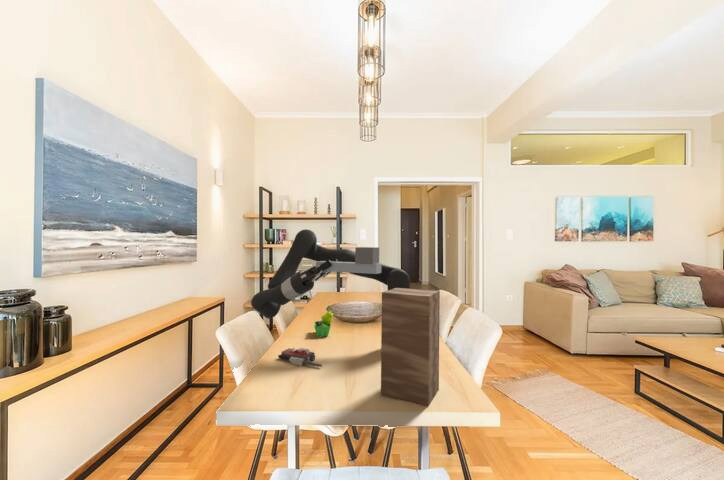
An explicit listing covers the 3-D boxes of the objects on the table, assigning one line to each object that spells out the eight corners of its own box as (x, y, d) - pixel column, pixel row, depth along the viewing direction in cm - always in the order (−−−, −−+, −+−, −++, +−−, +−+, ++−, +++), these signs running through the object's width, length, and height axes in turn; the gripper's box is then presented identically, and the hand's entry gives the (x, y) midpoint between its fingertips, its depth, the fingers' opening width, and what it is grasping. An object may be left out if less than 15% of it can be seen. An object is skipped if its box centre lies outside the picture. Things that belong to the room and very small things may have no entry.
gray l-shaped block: (323, 269, 118) (323, 246, 118) (381, 272, 109) (382, 247, 109) (314, 270, 114) (315, 246, 114) (375, 274, 104) (375, 247, 104)
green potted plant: (314, 331, 170) (315, 308, 170) (332, 331, 171) (332, 308, 171) (314, 337, 158) (314, 313, 158) (333, 337, 159) (333, 313, 159)
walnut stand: (395, 381, 110) (396, 287, 110) (438, 389, 104) (439, 290, 104) (380, 396, 99) (381, 292, 99) (428, 406, 93) (429, 296, 93)
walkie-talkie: (274, 361, 128) (320, 370, 120) (274, 349, 128) (320, 358, 120) (288, 354, 136) (332, 362, 127) (288, 343, 136) (332, 350, 127)
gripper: (280, 277, 114) (317, 252, 108) (305, 273, 127) (340, 251, 121) (288, 297, 113) (327, 274, 106) (313, 292, 126) (349, 270, 119)
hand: (334, 262), depth 113 cm, fingers closed on gray l-shaped block, 4 cm apart
